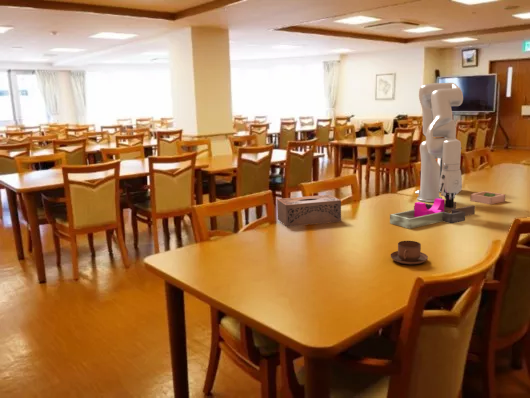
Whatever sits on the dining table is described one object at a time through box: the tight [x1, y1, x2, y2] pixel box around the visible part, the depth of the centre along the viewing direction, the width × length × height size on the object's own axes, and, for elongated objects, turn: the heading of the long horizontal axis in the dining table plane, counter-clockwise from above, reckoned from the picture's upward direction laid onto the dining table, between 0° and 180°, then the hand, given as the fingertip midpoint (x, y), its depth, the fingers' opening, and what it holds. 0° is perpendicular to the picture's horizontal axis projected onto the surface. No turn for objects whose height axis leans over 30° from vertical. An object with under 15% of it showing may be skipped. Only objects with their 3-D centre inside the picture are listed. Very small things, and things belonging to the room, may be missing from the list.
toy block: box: [413, 198, 445, 218], centre depth 215 cm, size 15×6×8 cm, turn 120°
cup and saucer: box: [390, 240, 429, 265], centre depth 160 cm, size 12×12×6 cm
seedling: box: [484, 192, 495, 197], centre depth 240 cm, size 6×7×6 cm
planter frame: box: [469, 190, 506, 205], centre depth 244 cm, size 12×12×4 cm
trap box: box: [389, 201, 476, 230], centre depth 214 cm, size 21×42×4 cm, turn 120°
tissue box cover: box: [276, 194, 342, 227], centre depth 218 cm, size 26×14×10 cm, turn 103°
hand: (449, 207), depth 218 cm, fingers closed
